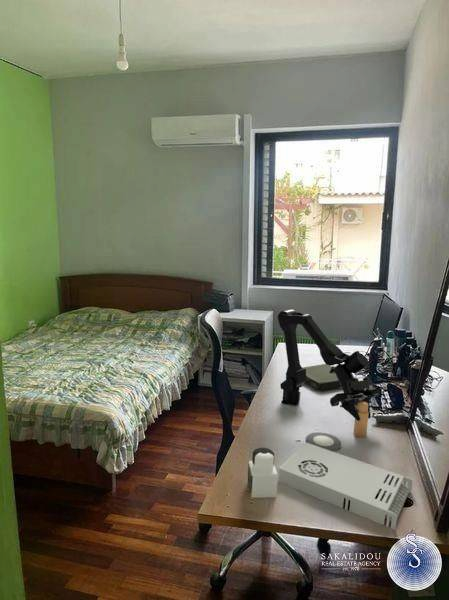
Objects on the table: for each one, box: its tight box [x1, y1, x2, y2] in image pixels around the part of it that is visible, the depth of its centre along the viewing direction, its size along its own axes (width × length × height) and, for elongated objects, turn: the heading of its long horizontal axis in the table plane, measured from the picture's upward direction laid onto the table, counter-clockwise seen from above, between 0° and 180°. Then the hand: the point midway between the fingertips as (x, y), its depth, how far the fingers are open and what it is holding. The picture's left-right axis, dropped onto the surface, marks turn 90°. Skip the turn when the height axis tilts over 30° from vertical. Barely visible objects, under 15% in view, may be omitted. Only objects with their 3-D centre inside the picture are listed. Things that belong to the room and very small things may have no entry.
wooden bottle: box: [353, 401, 369, 439], centre depth 153 cm, size 4×4×12 cm
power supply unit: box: [277, 442, 413, 531], centre depth 123 cm, size 19×33×5 cm, turn 55°
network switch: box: [302, 363, 340, 392], centre depth 205 cm, size 23×24×5 cm
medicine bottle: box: [247, 447, 279, 499], centre depth 119 cm, size 7×7×12 cm
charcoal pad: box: [305, 431, 342, 452], centre depth 147 cm, size 12×12×1 cm
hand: (364, 419), depth 152 cm, fingers closed on wooden bottle, 4 cm apart
